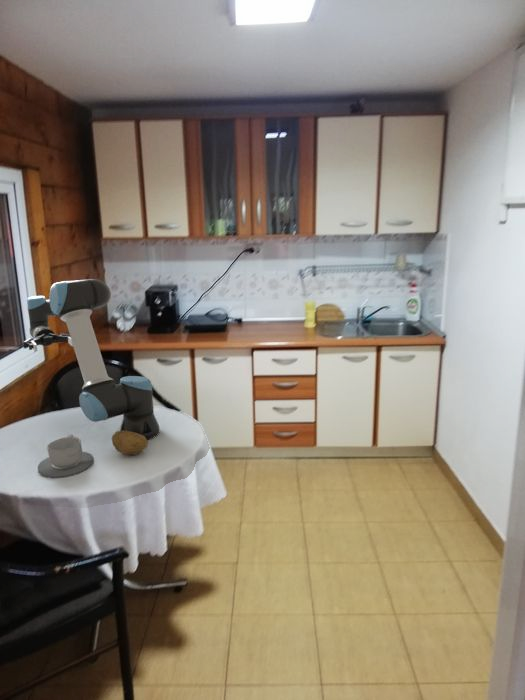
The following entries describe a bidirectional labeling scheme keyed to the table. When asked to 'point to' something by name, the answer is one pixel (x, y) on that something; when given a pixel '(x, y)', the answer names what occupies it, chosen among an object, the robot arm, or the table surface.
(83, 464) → the saucer
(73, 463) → the teacup
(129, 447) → the potato
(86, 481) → the table surface
